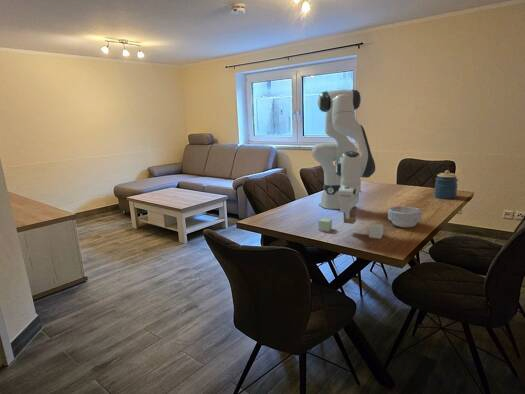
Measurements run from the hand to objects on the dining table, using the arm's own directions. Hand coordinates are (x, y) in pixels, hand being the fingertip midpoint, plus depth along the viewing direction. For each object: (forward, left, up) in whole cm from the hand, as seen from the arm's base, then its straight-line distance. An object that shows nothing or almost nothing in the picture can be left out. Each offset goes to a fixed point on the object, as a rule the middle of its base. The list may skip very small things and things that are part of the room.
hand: (349, 216), depth 156 cm
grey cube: (0, +12, -8) cm, 15 cm away
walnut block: (0, 0, -3) cm, 3 cm away
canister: (-93, +37, -8) cm, 100 cm away
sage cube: (0, -12, -8) cm, 14 cm away
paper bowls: (-22, +21, -8) cm, 31 cm away
